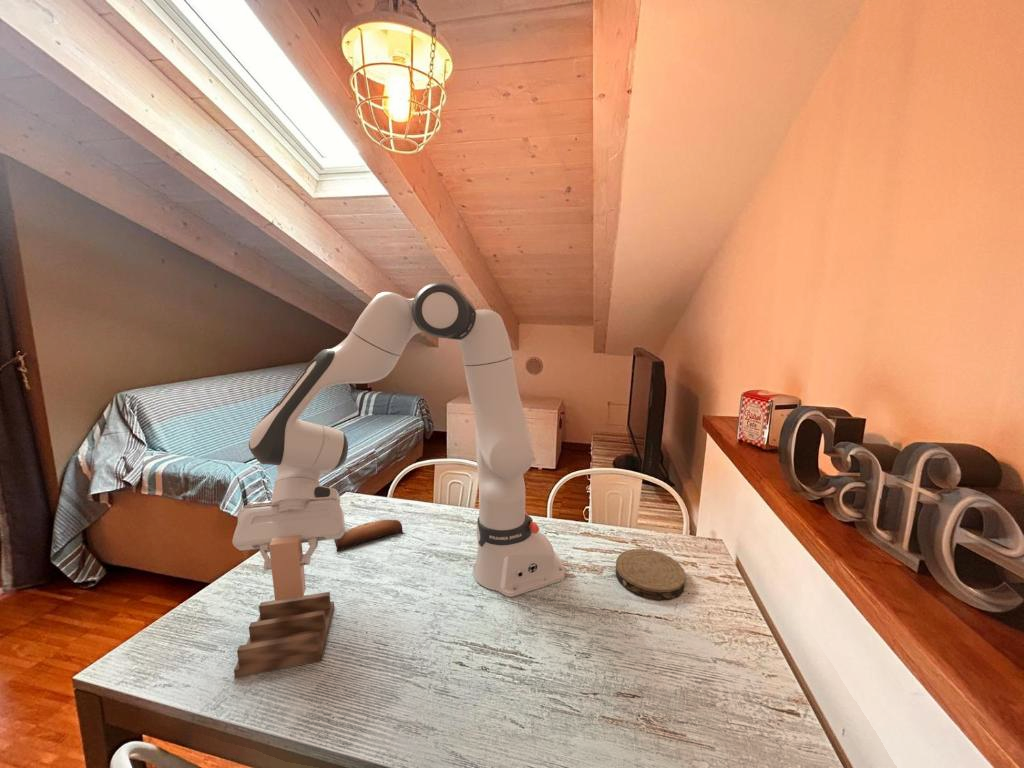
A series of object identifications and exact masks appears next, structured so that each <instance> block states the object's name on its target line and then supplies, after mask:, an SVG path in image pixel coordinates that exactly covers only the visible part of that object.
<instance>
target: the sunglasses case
mask: <svg viewBox="0 0 1024 768" xmlns="http://www.w3.org/2000/svg"><path fill="white" fill-rule="evenodd" d="M399 532H403V525H402V522H401V521H400V520H399V519H381V520H380V519H379V520H375V521H371V522H365V523H363V524H359V525H357V526H354V527H352V528H351V529H348V530H345V533H344V535H343V536H342V537H341V538H339V539H333V540H334V544H335V547H336V551H342V550H344V549H347V548H349V547H353V546H354V545H355V546H356V545H358V544H361V543H363V542H367V541H370V540H371V541H372V540H374V539H377V538H381V537H384V536H388V535H392V534H395V533H399Z"/></svg>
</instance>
